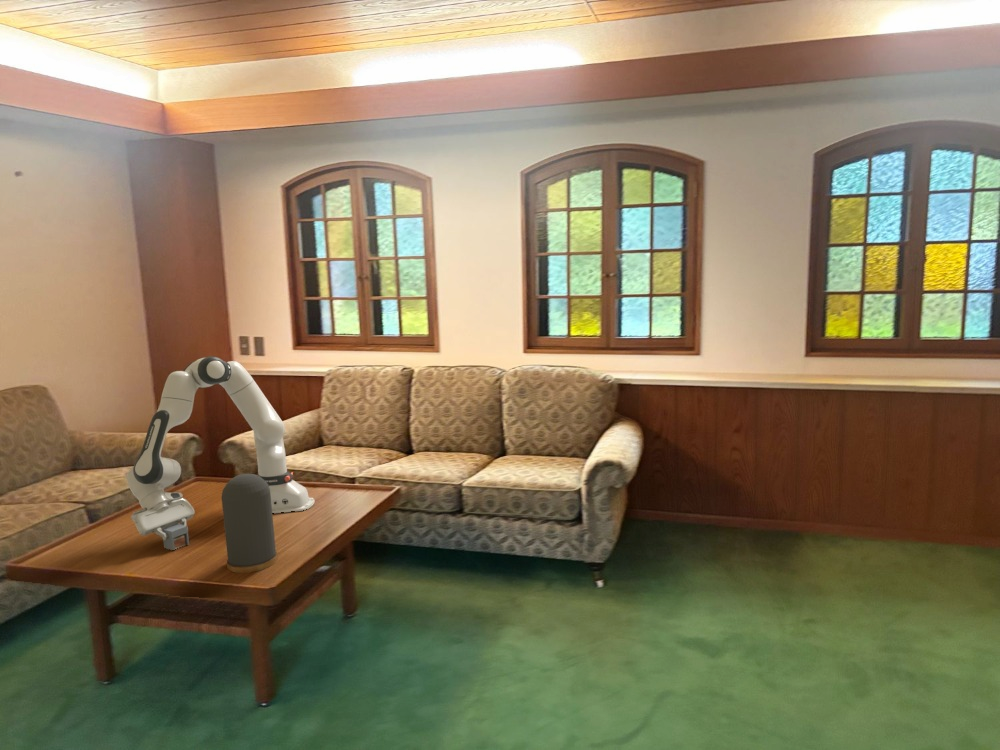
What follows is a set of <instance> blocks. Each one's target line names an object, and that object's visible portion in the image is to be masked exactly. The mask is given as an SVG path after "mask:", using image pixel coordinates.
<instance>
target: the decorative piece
mask: <svg viewBox="0 0 1000 750" xmlns="http://www.w3.org/2000/svg"><path fill="white" fill-rule="evenodd" d="M221 506H222V513H223V514H222V515H223V517H222V518H223V526H224V527H223V528H224V534H225V535H224V536H225V544H226V555H227V560H226V565H227V566H226V567H227V570H229V571H230V572H233V573H241V574H242V573H245V574H246V573H253V572H259V571H261V570H265V569H267V568H270V567H271V566H273V565H275V562H276V561H277V562H278V560H277V559H279V558H278V556H279V555H278V552H277V551H276V550H277V549H276V541H275V539H276V538H275V529H274V518H273V514H272V504H271V493H270V488H269V485H268V484H267V483H266V482H265V480H264V479H262V478H261V477H260V476H258V474H255V473H254V474H253V473H241V474H238V475H236V476H234V477H232V478H231V479H230V480H229V481H227V483H225V486H224V487H223V488H222V492H221ZM277 562H276V563H277Z"/></svg>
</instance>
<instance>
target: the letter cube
mask: <svg viewBox="0 0 1000 750" xmlns="http://www.w3.org/2000/svg"><path fill="white" fill-rule="evenodd" d="M174 545H175V549H176V550H178V549H180V548H179V547H181V548H183V547H186V544H185V537H184V535H180V536H177V537H175V538H174ZM182 546H183V547H182ZM177 548H178V549H177Z"/></svg>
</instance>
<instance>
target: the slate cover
mask: <svg viewBox="0 0 1000 750" xmlns="http://www.w3.org/2000/svg"><path fill="white" fill-rule="evenodd" d="M161 531H162V532H164V533H168V535H169V538H168V539H166V540H163V539H162V541H163V548H164V549H165V548H166V550H169V549H170V550H169V551H172V550H175V545H174V538H175V537H177V536H180V535H184V537H185V545H186V544H187V545H186V546H190V539H189V537H190V536H189V528H188V525H186V526H185V525H181V524H180V523H178V524H175V525H172V526H169V527H167V528H164V529H161ZM175 551H176V550H175Z"/></svg>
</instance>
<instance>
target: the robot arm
mask: <svg viewBox="0 0 1000 750" xmlns="http://www.w3.org/2000/svg"><path fill="white" fill-rule="evenodd" d="M214 385H220V386H221V387H222V388H223V389H224V390H225V392H226V393H227V395H228V396H229V397H230V399H231V400H232V403H233V404H234V405H235V406H236V407H237V409H238V411H240V413H241V415H242V416H243V418H244V419H245V421H246V422H247V423H248V425H249V426H250V429H252V431H253V437H254V446H255V452H256V459H257V471H258V474H257V475H258V476H260V477H261V478H262V479H264V480H265V482H266V483H267V484H268V485H269V488H270V493H271V504H272V513H274V514H282V513H281V512H284V513H292V512H291V511H295V512H304V511H306V509H307V510H308V509H310V508H311V507H313V505H314V504H315V501H316V500H315V498H314V497H310V496H309V493H308V489H307V488H306V487H305V486H304V485H302V484H301V483H299V482H298V481H295V480H294V479H293V475H294V474H293V473H294V472H293V471H292V472H289V470H288V469H287V466H288V465H287V458H286V455H287V454H286V449H285V444H284V436H285V431H286V427H285V424H284V421H283V420H282V419H281V417H280V415H279V414H278V413H277V411H276V409H274V407H273V405H272V404H271V403H270V401H269V400H268V398H267V397H266V396H265V394H264V392H263V391H262V389H261V388H260V387H259V385H258V384H257V382H256V381H255V380H254V377H253V376H252V375H251V374H250V373H249V371H247V369H246V368H245V367H244V366H243V365H242V364H241V363H240V362H239V361H235V360H231V361H230V360H229V361H227V362H226V361H224V360H223V359H221V358H219V357H217V356H206V357H202V358H199V359H196V360H194V361H192V362H190V363H189V364H188V365H187V366H185V368H184V369H183V370H176V371H173V372H171V373H170V374H169V375H168V376H167V378H166V381H165V383H164V386H163V390H162V393H161V397H160V401H159V404H158V409H157V410H156V412H155V413H154V415H153V416H152V418H151V420H150V423H149V426H148V429H147V432H146V435H145V438H144V442H143V444H142V448H141V450H140V453H139V455H138V457H136V460H135V462H134V464H133V467H131V468H130V469H129V470H128V471H127V473H126V475H125V479H126V482H127V486H128V487H129V489H130V491H131V493H132V494H133V496H134V497H135V498H136V499H137V500H138V503H139V505H140V507H141V508H142V509H139V510H135V511H132V514H131V515H130V519H131V520H132V522H133V523H134V525H135V527H136V529H137V531H138V533H139V535H141V536H147V535H150V534H153V533H155V534H156V535H157V536H159V537H160V538H162V541H163V540H166V539H168V538H169V535H168V533H164V532H162V529H164V528H167V527H170V526H172V525H175V524H181V525H185V526H187V521H188V520H192V518H193V517H194V515H195V513H196V511H195V510H196V509H194V507H193V505H191V503H190V502H189V501H188V499H186V498H183V493H182V492H178V491H177V492H175V491H174V492H167V491H165V490H164V489H167V488H168V487H170V486H172V485H173V484H174V483H176V482H177V481H178V480H179V479H180V478H181V474H182V467H181V464H180V462H179V461H177V460H176V459H173V458H169V457H162V455H161V454H162V450H163V447H164V444H165V442H166V441H165V439H166V437H167V434H168V432H169V431H170V430H171V429H172V428H174V427H176V426H180V425H182V424H185V422H187V420H189V419H190V417H191V415H192V413H193V408H194V402H195V401H194V400H195V395H196V393H197V391H198V389H202V388H210V387H212V386H214ZM303 510H304V511H303Z"/></svg>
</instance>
